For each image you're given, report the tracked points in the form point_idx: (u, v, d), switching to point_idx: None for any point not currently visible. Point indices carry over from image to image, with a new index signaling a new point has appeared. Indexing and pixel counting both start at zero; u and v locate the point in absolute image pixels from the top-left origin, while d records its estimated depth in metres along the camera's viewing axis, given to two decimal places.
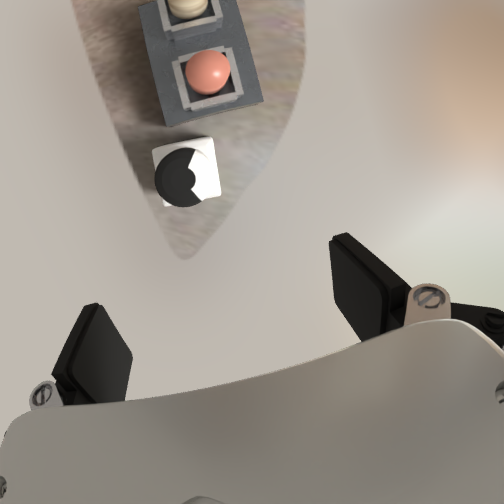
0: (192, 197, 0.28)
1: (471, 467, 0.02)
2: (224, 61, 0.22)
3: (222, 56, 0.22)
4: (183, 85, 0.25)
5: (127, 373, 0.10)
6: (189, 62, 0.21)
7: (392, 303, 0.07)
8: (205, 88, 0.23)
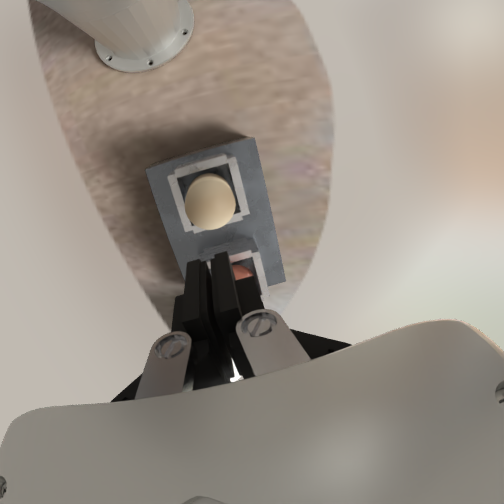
0: None
1: (471, 467, 0.02)
2: None
3: None
4: None
5: None
6: None
7: (229, 325, 0.08)
8: None
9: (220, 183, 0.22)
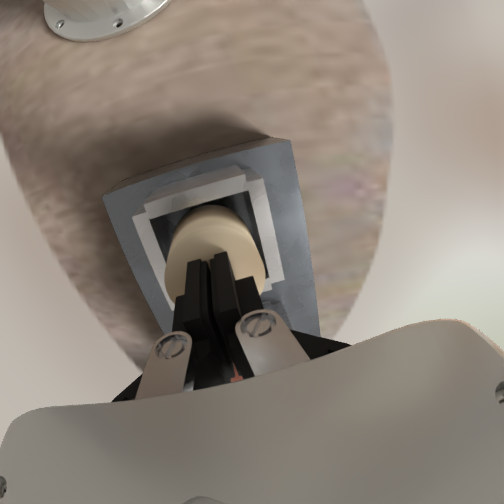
0: None
1: (471, 467, 0.02)
2: None
3: None
4: None
5: None
6: None
7: (228, 325, 0.08)
8: None
9: (236, 238, 0.11)
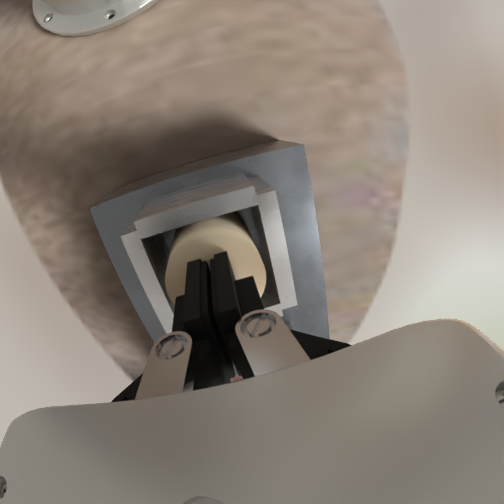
0: None
1: (471, 467, 0.02)
2: None
3: None
4: None
5: None
6: None
7: (228, 325, 0.08)
8: None
9: (236, 240, 0.11)
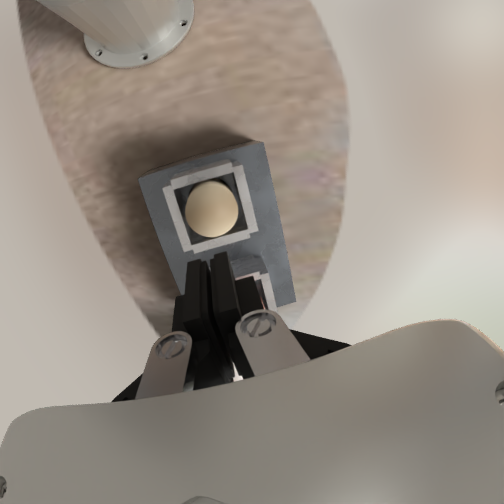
0: None
1: (471, 467, 0.02)
2: None
3: None
4: None
5: None
6: None
7: (228, 325, 0.08)
8: None
9: (222, 189, 0.22)
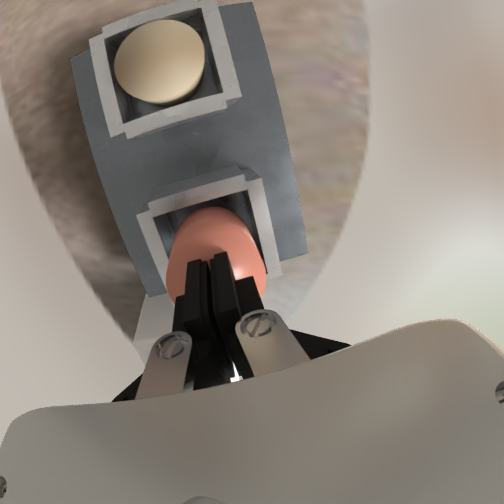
0: None
1: (471, 467, 0.02)
2: (253, 263, 0.12)
3: (248, 251, 0.11)
4: (167, 265, 0.15)
5: None
6: (172, 267, 0.11)
7: (228, 325, 0.08)
8: None
9: (179, 23, 0.09)
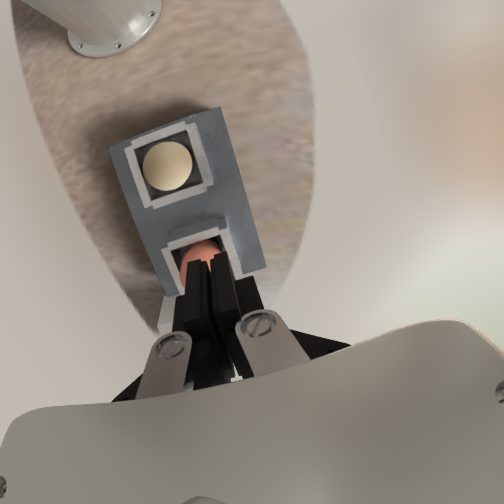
0: None
1: (471, 467, 0.02)
2: None
3: None
4: (178, 276, 0.27)
5: None
6: (182, 270, 0.24)
7: (228, 325, 0.08)
8: None
9: (175, 144, 0.22)
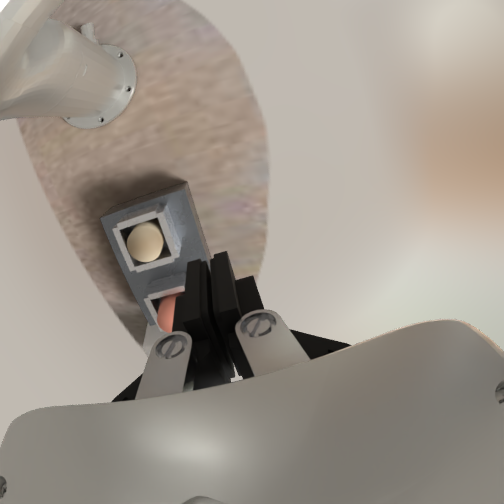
0: None
1: (471, 467, 0.02)
2: None
3: None
4: None
5: None
6: (158, 316, 0.33)
7: (228, 325, 0.08)
8: None
9: (149, 230, 0.30)
